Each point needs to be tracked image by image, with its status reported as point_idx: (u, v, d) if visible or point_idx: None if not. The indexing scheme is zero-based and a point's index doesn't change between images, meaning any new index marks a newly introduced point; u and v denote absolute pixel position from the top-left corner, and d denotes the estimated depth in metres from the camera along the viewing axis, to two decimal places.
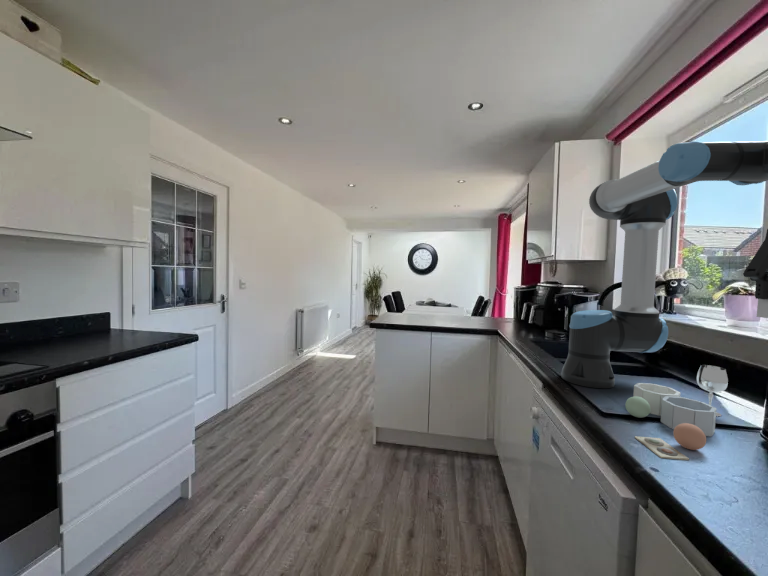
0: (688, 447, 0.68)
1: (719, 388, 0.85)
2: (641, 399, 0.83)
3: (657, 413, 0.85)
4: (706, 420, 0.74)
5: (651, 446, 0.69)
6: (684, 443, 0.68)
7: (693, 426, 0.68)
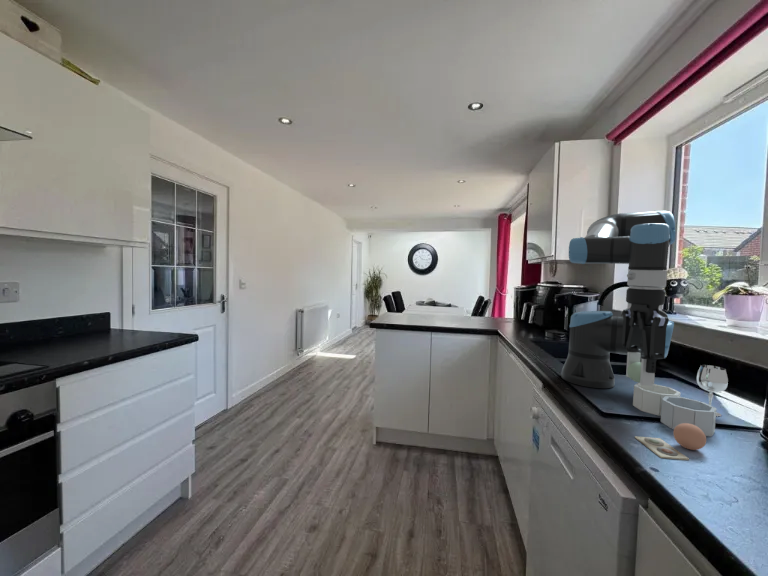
0: (688, 447, 0.68)
1: (719, 388, 0.85)
2: None
3: (657, 413, 0.85)
4: (706, 420, 0.74)
5: (651, 446, 0.69)
6: (684, 443, 0.68)
7: (693, 426, 0.68)
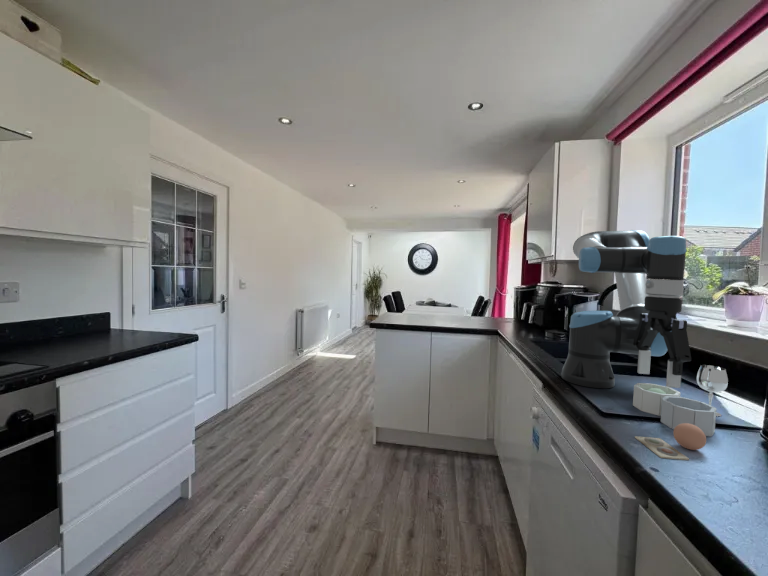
0: (688, 447, 0.68)
1: (719, 388, 0.85)
2: (660, 391, 0.88)
3: (657, 413, 0.85)
4: (706, 420, 0.74)
5: (651, 446, 0.69)
6: (684, 443, 0.68)
7: (693, 426, 0.68)
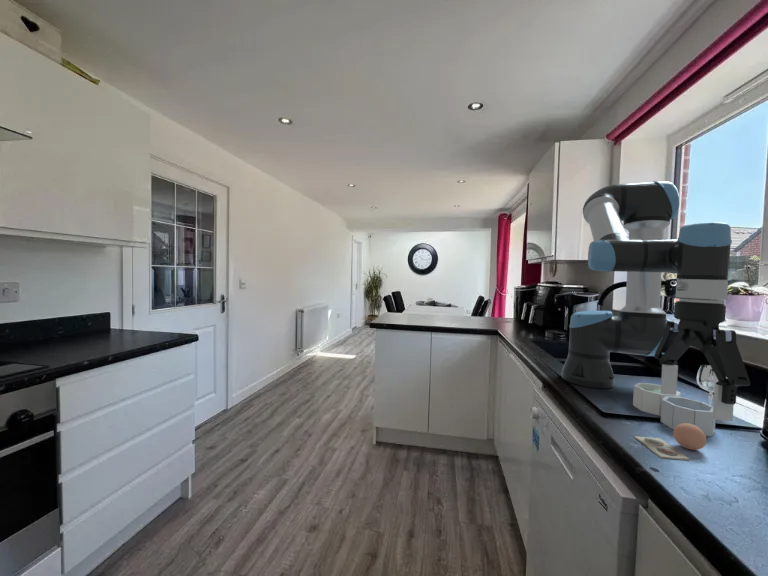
0: (688, 447, 0.68)
1: None
2: None
3: (657, 413, 0.85)
4: (706, 420, 0.74)
5: (651, 446, 0.69)
6: (684, 443, 0.68)
7: (693, 426, 0.68)
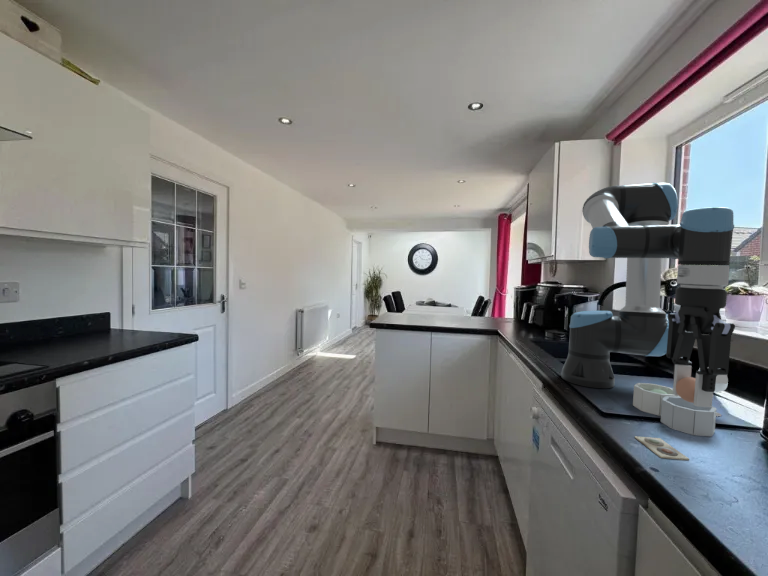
0: (690, 400, 0.68)
1: (719, 388, 0.85)
2: None
3: (657, 413, 0.85)
4: (706, 420, 0.74)
5: (651, 446, 0.69)
6: (687, 396, 0.68)
7: None
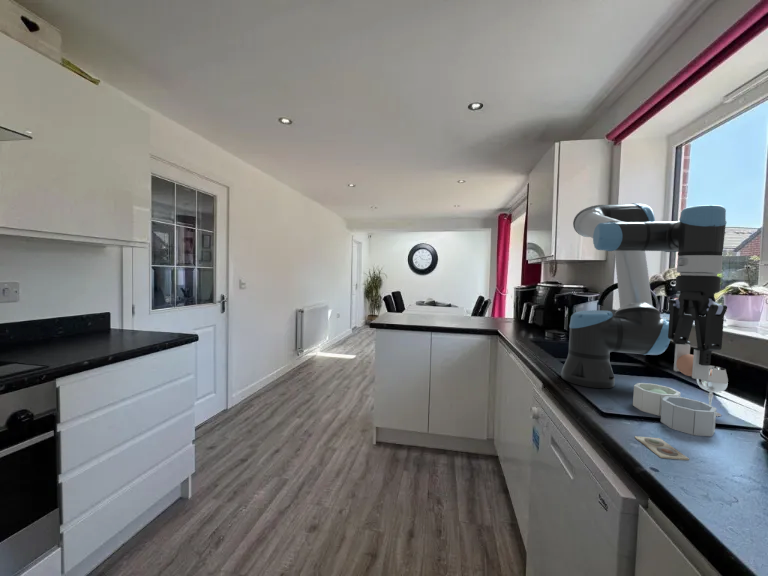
0: (689, 373, 0.77)
1: (719, 388, 0.85)
2: None
3: (657, 413, 0.85)
4: (706, 420, 0.74)
5: (651, 446, 0.69)
6: (686, 370, 0.77)
7: None
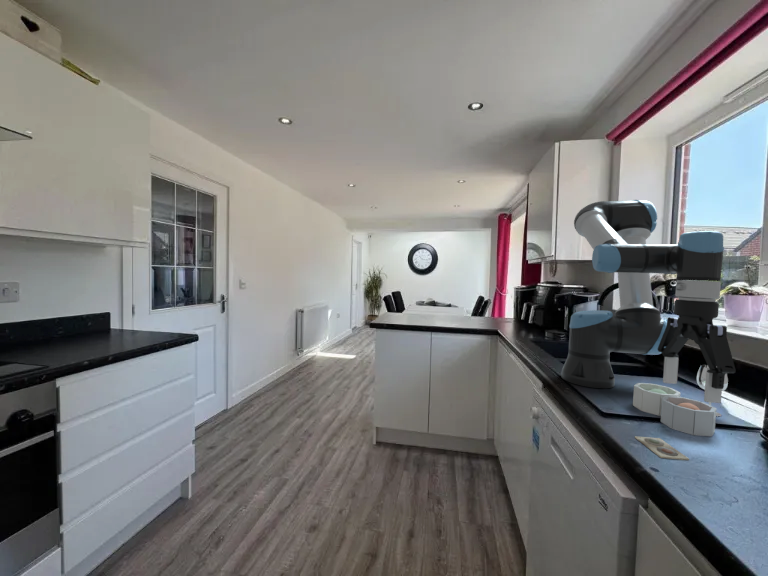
0: None
1: None
2: None
3: (657, 413, 0.85)
4: (706, 420, 0.74)
5: (651, 446, 0.69)
6: None
7: (692, 405, 0.78)
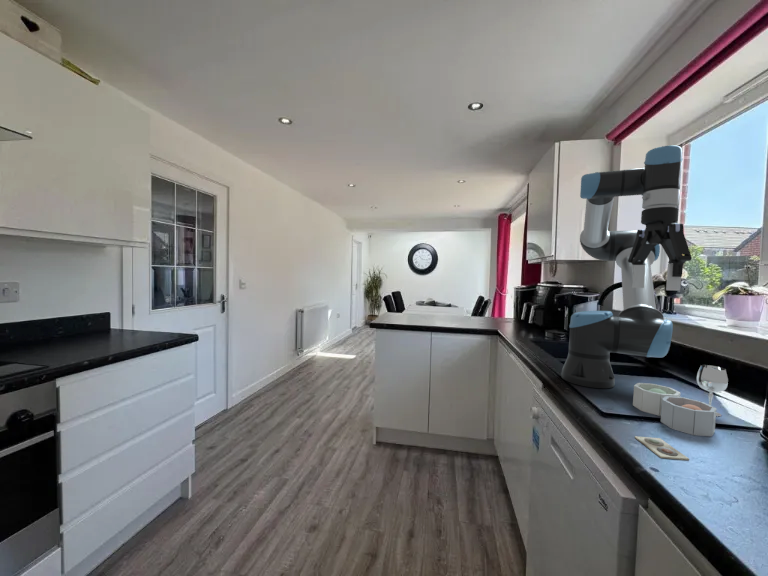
0: None
1: (719, 388, 0.85)
2: (661, 392, 0.87)
3: (657, 413, 0.85)
4: (706, 420, 0.74)
5: (651, 446, 0.69)
6: None
7: None
